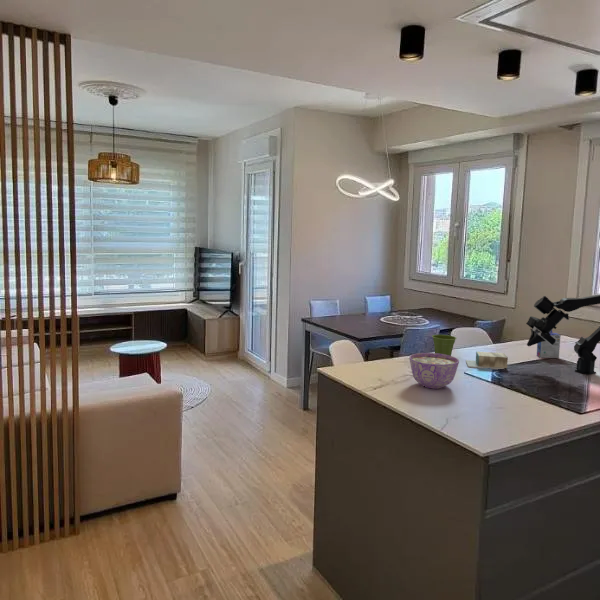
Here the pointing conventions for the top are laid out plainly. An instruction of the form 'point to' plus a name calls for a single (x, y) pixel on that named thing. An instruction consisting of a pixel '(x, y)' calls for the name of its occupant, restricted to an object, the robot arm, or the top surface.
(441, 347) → the plant pot
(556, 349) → the ink cartridge box
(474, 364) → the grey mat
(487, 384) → the top surface
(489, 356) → the oak block
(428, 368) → the bowl of food
